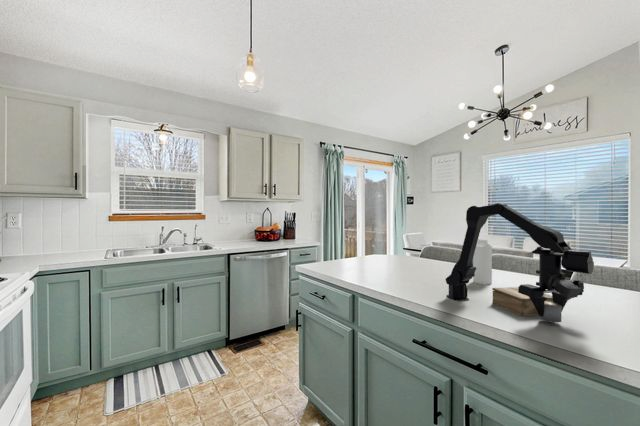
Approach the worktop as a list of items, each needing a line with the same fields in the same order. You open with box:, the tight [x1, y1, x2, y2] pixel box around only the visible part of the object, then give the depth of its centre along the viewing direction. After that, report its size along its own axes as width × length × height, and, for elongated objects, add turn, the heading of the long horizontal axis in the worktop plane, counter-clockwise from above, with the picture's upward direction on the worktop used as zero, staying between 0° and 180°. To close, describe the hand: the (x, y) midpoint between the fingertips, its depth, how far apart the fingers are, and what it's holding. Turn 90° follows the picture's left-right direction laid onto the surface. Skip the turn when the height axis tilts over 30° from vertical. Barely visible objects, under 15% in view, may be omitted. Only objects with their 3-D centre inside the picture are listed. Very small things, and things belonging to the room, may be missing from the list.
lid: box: [492, 286, 553, 301], centre depth 111 cm, size 14×14×1 cm
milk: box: [472, 238, 493, 286], centre depth 149 cm, size 6×6×22 cm
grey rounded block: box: [537, 301, 563, 323], centre depth 97 cm, size 6×6×5 cm
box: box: [492, 290, 553, 317], centre depth 111 cm, size 14×14×5 cm
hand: (549, 315), depth 97 cm, fingers closed on grey rounded block, 6 cm apart
